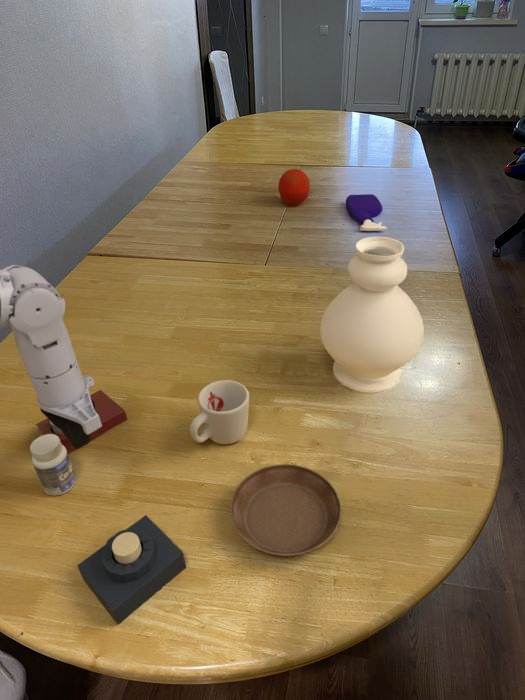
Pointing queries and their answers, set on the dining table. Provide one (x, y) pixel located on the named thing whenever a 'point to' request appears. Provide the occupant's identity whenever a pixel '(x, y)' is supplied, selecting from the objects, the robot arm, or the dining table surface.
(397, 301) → the decorative vase
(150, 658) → the dining table surface
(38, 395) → the robot arm
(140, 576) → the dark knob button block
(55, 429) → the light grey cylinder
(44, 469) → the pill bottle
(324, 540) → the saucer
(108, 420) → the red socket plate
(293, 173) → the apple
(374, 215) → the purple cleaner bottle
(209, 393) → the cup
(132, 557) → the cylindrical peg
